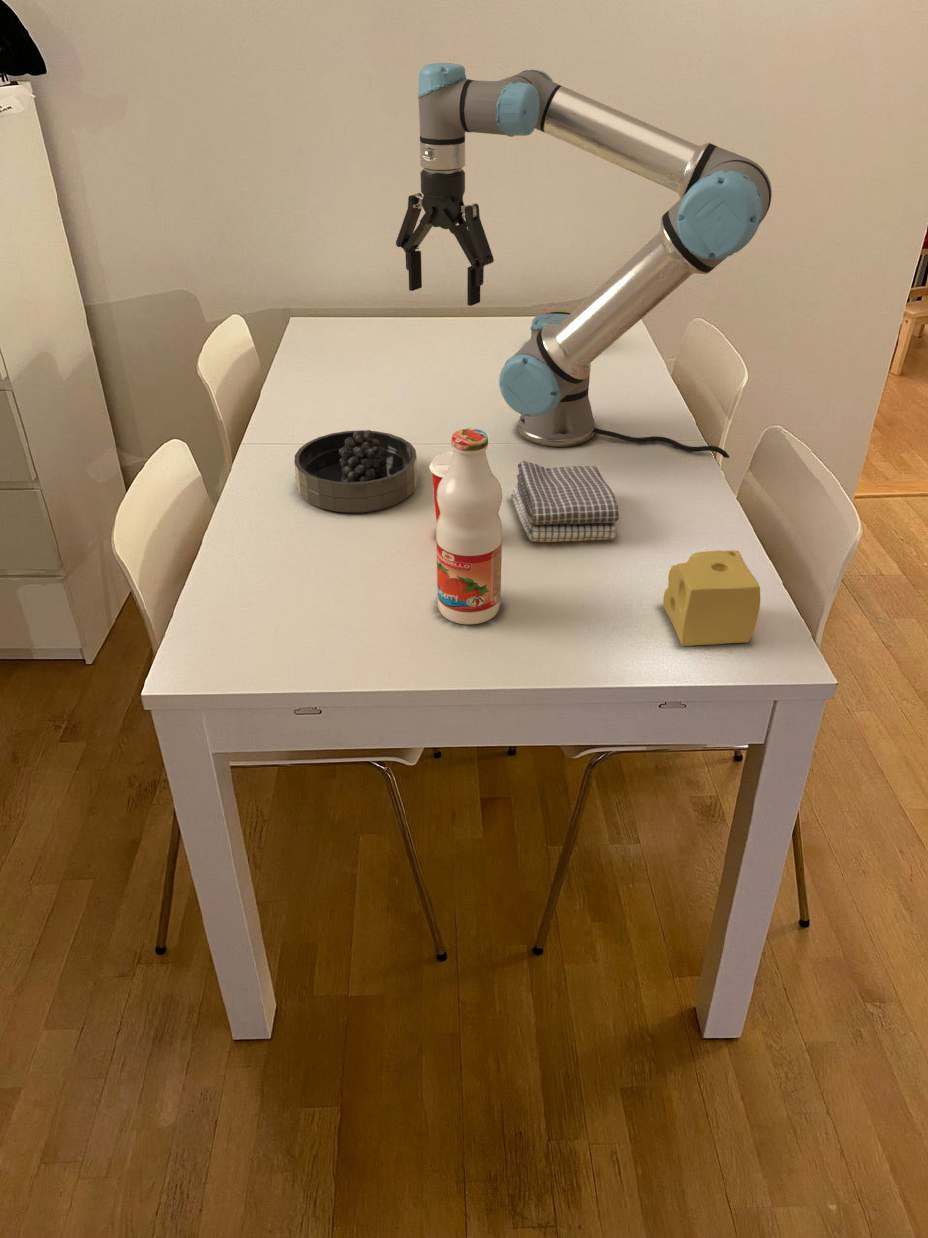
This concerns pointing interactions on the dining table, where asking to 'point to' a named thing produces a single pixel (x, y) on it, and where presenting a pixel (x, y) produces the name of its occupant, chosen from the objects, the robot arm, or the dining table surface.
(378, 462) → the fruit
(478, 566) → the fruit juice
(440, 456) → the paper cup
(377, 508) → the bowl
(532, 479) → the towel
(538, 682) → the dining table surface
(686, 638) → the cheese
